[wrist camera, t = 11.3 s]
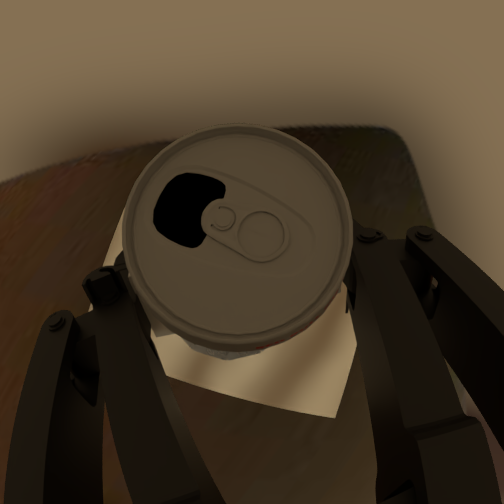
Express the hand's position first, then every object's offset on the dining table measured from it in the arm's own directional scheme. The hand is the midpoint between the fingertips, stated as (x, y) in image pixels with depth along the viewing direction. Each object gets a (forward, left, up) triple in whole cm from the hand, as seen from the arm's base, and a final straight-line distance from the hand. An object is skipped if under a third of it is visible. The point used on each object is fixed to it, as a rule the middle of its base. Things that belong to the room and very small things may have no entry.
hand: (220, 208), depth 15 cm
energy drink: (+2, -3, -4) cm, 5 cm away
